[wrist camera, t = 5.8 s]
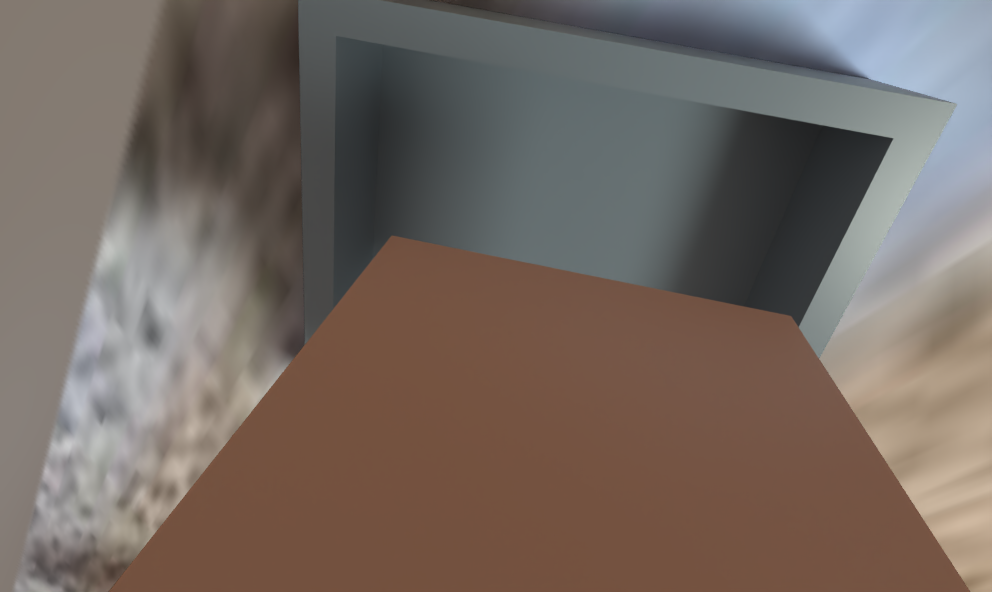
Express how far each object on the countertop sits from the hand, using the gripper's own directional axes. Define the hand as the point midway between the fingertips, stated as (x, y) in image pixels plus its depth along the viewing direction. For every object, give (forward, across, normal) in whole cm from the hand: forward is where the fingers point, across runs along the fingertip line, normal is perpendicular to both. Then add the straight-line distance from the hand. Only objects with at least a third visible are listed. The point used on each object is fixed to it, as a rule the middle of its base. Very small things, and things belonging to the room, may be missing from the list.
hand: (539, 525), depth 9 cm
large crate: (+10, 0, 0) cm, 10 cm away
